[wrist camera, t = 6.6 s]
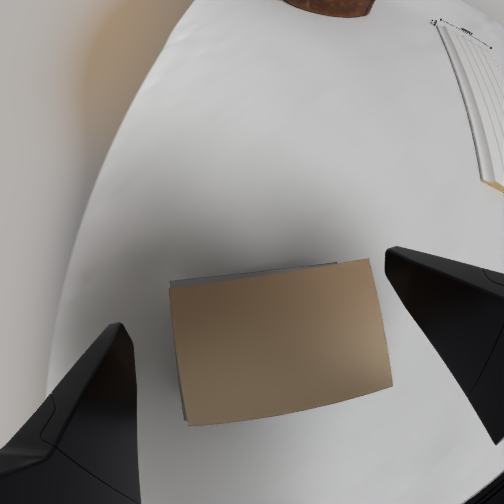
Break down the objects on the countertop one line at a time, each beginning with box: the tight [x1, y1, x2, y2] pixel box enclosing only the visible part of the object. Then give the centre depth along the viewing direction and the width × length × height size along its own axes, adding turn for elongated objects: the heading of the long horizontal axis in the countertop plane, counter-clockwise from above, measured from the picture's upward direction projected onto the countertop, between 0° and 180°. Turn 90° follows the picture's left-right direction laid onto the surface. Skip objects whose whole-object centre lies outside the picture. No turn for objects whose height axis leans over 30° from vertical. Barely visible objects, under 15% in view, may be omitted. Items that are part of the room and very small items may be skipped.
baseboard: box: [431, 19, 504, 193], centre depth 25 cm, size 31×3×12 cm
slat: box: [169, 258, 393, 426], centre depth 11 cm, size 3×4×11 cm, turn 99°
